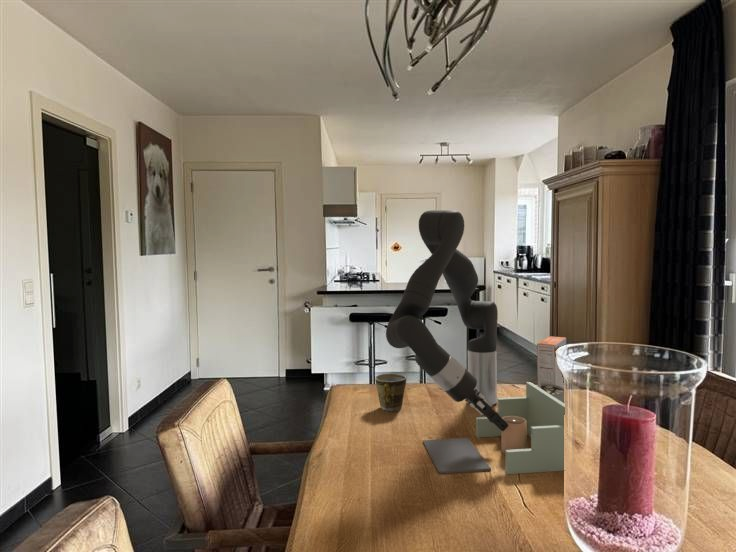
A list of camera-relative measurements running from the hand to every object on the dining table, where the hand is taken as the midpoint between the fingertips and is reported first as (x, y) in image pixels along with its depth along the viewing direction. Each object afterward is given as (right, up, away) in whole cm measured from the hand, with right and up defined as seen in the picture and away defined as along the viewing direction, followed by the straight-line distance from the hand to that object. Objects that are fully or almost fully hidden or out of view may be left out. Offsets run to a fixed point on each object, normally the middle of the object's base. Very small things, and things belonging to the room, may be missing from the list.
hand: (499, 421), depth 118 cm
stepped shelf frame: (+5, -8, +1) cm, 9 cm away
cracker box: (+27, -6, +36) cm, 45 cm away
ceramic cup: (-25, -7, +34) cm, 43 cm away
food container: (+21, -6, +19) cm, 29 cm away
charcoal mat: (-11, -8, -1) cm, 14 cm away
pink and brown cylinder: (+4, -8, +1) cm, 9 cm away
